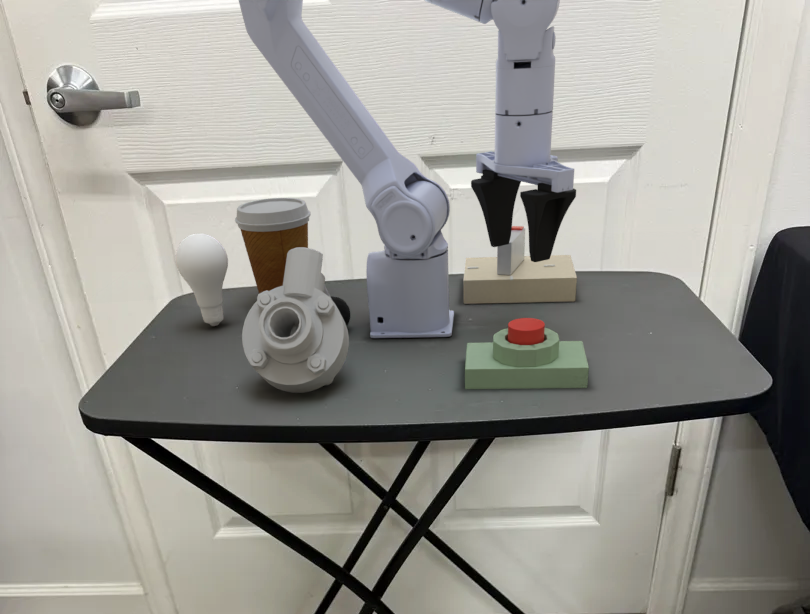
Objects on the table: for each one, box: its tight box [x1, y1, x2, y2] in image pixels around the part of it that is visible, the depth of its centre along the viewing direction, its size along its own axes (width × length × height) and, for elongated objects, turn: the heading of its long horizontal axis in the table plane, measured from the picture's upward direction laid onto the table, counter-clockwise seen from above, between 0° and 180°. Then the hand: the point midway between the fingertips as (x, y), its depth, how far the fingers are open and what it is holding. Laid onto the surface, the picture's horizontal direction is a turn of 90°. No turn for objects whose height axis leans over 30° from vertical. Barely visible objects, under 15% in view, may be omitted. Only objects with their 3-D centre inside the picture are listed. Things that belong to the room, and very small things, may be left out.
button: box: [507, 317, 546, 345], centre depth 77 cm, size 4×4×2 cm
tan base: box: [462, 254, 578, 305], centre depth 101 cm, size 14×11×3 cm
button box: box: [464, 327, 590, 390], centre depth 78 cm, size 12×7×4 cm, turn 85°
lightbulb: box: [174, 232, 229, 327], centre depth 94 cm, size 6×6×11 cm
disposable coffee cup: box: [234, 197, 311, 294], centre depth 100 cm, size 10×10×12 cm
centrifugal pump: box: [241, 247, 351, 394], centre depth 83 cm, size 10×20×15 cm
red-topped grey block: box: [496, 225, 526, 275], centre depth 99 cm, size 7×2×4 cm, turn 159°
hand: (519, 252), depth 85 cm, fingers open, 7 cm apart
